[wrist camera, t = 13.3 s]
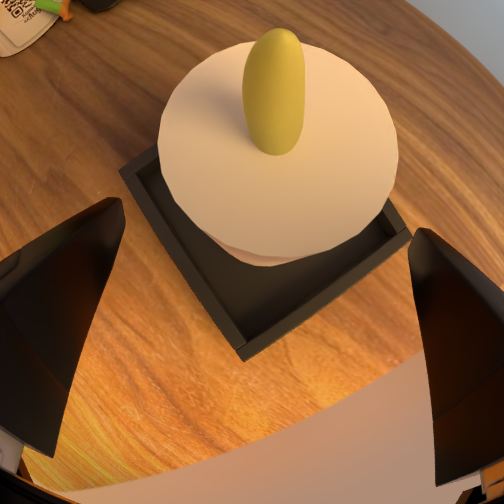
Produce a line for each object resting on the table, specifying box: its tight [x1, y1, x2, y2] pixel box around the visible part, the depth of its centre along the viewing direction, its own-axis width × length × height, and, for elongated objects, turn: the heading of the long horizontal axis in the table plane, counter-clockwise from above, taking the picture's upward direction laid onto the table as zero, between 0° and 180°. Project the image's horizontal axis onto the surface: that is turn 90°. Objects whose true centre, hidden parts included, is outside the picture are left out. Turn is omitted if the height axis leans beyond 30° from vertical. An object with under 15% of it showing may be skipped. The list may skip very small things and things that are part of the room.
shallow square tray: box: [119, 142, 413, 362], centre depth 18 cm, size 13×12×2 cm
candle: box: [157, 28, 399, 266], centre depth 11 cm, size 6×6×15 cm
